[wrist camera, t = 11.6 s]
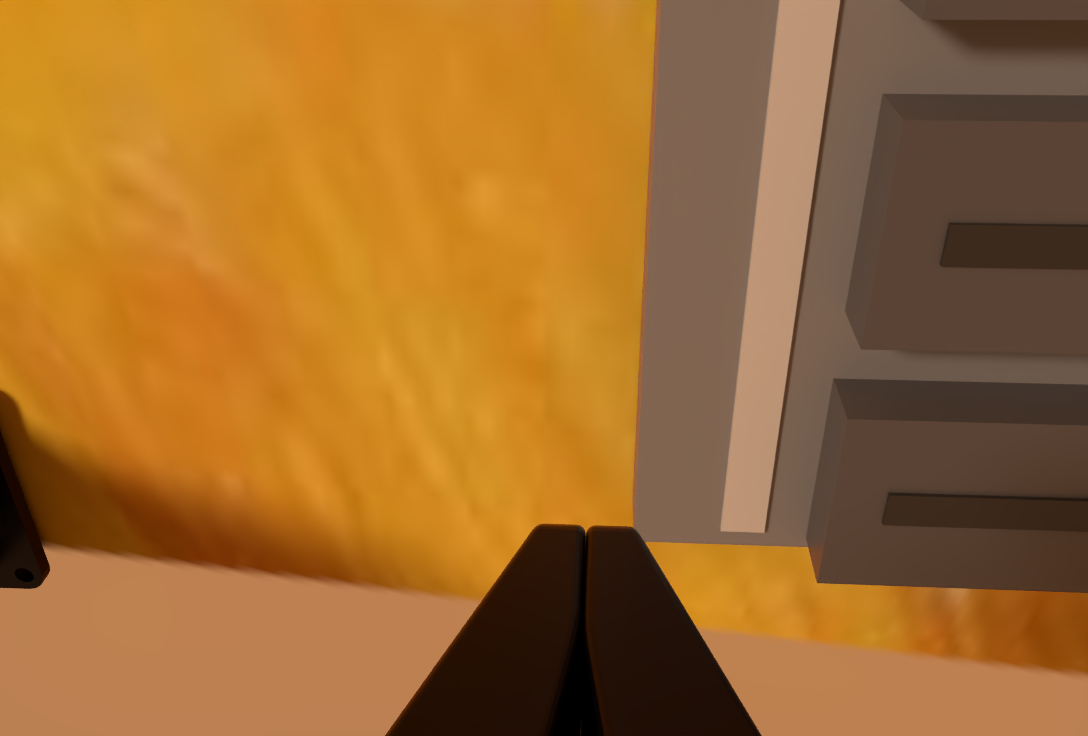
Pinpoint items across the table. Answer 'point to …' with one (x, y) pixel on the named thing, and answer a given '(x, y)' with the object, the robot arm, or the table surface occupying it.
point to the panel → (717, 226)
